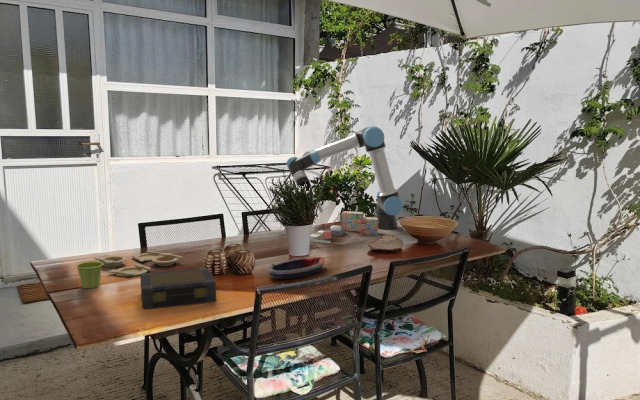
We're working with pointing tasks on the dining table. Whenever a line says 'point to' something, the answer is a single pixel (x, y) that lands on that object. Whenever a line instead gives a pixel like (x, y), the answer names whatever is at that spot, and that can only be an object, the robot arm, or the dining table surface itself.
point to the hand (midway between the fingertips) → (318, 212)
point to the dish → (296, 268)
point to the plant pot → (90, 274)
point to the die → (327, 234)
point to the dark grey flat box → (177, 288)
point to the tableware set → (138, 268)
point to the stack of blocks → (359, 223)
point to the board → (334, 233)
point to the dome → (336, 228)
